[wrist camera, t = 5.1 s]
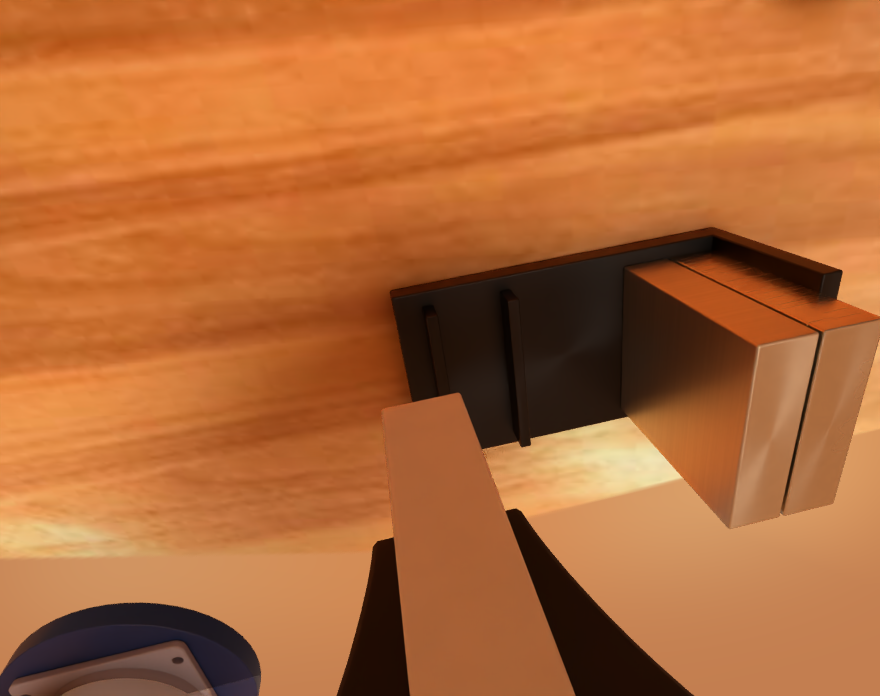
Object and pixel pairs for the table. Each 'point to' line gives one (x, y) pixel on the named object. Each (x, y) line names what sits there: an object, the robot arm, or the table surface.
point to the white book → (461, 564)
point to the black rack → (660, 360)
